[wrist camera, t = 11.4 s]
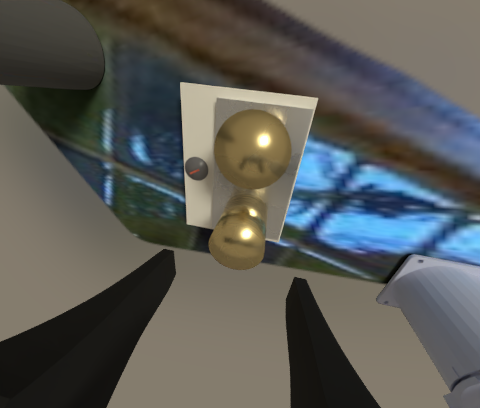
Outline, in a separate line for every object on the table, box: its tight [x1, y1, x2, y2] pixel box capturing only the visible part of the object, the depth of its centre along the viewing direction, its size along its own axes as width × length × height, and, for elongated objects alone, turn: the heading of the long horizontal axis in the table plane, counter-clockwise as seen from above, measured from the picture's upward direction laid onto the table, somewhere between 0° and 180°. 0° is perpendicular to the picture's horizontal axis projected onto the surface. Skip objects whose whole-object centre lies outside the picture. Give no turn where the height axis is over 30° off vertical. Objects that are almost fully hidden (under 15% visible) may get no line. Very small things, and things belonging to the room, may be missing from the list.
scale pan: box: [212, 98, 314, 240], centre depth 16 cm, size 7×12×1 cm, turn 174°
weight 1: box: [214, 109, 292, 190], centre depth 12 cm, size 4×4×5 cm
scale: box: [180, 82, 318, 242], centre depth 17 cm, size 10×13×2 cm
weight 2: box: [209, 194, 267, 270], centre depth 15 cm, size 4×4×5 cm
